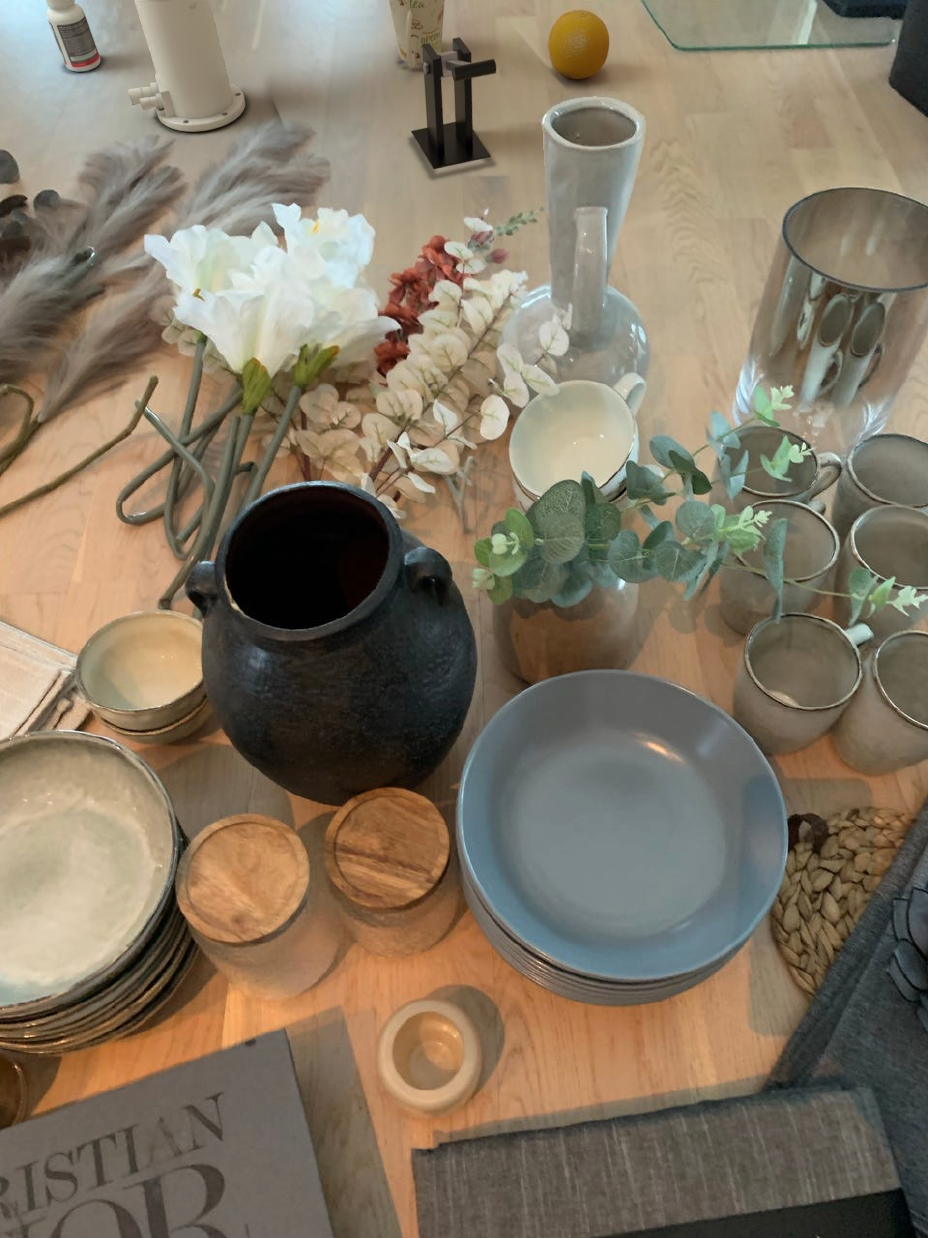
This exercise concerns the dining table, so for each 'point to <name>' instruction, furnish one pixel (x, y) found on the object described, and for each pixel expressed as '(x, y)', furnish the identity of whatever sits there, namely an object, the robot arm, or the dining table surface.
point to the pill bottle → (72, 35)
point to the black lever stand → (442, 139)
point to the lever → (464, 67)
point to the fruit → (578, 44)
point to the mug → (417, 27)
